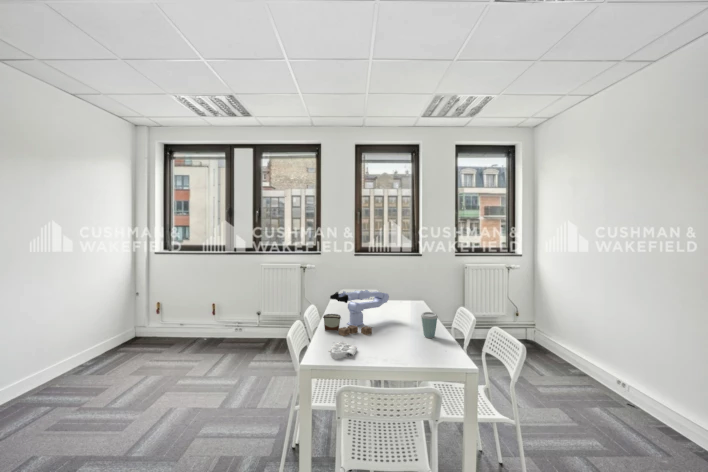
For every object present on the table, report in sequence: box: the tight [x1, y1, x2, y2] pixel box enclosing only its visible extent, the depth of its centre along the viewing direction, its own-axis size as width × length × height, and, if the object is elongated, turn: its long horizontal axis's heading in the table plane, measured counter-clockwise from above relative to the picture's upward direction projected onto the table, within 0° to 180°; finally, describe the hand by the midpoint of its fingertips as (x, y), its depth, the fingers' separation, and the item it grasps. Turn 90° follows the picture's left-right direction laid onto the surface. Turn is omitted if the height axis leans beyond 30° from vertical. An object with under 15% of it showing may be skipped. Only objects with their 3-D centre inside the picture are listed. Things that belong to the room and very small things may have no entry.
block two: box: [338, 326, 350, 337], centre depth 218 cm, size 5×5×4 cm
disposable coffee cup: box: [420, 311, 438, 339], centre depth 218 cm, size 11×11×15 cm
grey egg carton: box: [328, 341, 358, 360], centre depth 187 cm, size 3×18×15 cm
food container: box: [322, 313, 342, 332], centre depth 228 cm, size 12×6×10 cm, turn 84°
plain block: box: [346, 325, 359, 335], centre depth 223 cm, size 5×5×4 cm
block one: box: [360, 325, 373, 336], centre depth 222 cm, size 5×5×4 cm
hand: (334, 298), depth 228 cm, fingers open, 7 cm apart
